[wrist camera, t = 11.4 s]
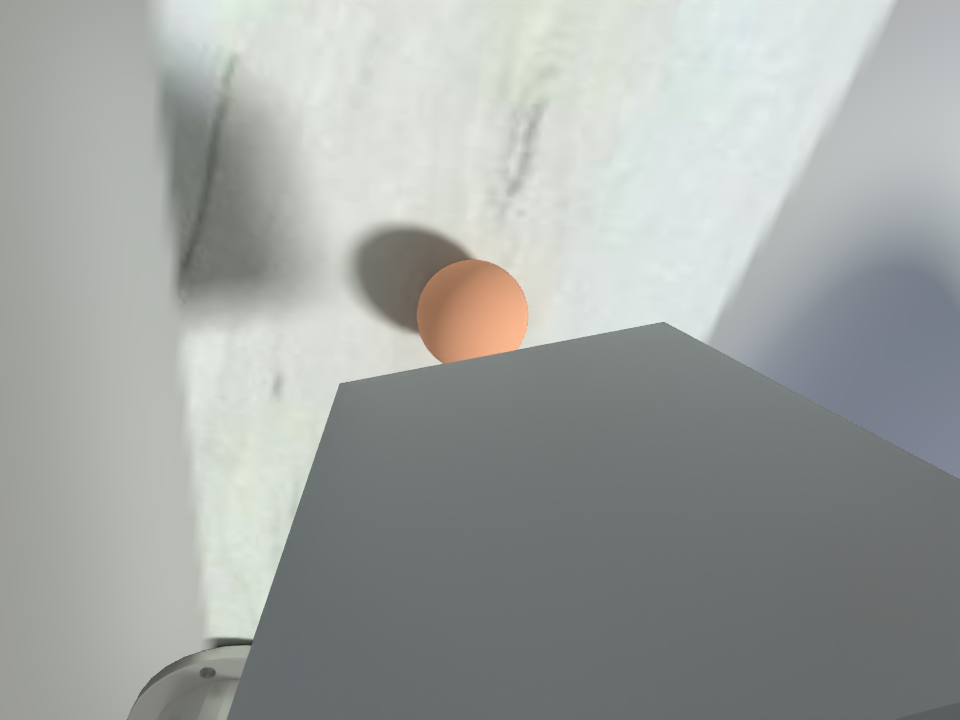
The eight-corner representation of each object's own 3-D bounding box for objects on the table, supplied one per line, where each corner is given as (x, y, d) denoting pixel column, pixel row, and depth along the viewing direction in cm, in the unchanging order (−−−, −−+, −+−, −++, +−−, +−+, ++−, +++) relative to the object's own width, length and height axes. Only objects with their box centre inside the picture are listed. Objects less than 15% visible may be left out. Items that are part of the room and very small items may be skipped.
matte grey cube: (669, 574, 15) (1012, 1080, 6) (407, 634, 14) (408, 1279, 6) (663, 321, 12) (1239, 628, 4) (340, 383, 11) (158, 914, 3)
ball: (546, 327, 19) (512, 224, 21) (420, 357, 19) (397, 251, 21) (538, 372, 24) (511, 285, 26) (437, 398, 24) (417, 308, 26)
